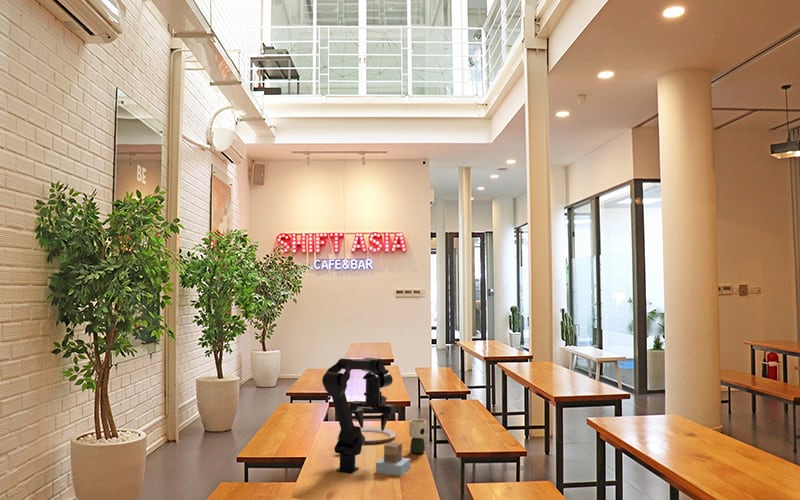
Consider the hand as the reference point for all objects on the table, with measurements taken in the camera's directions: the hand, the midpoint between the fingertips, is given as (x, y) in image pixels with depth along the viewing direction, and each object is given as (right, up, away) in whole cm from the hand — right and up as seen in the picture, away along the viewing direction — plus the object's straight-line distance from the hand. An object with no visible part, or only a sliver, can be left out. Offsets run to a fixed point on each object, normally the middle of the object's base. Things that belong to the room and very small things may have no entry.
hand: (372, 429), depth 246 cm
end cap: (-9, -13, +12) cm, 20 cm away
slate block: (+9, -12, -14) cm, 20 cm away
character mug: (+18, -13, +11) cm, 25 cm away
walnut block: (+8, -8, -13) cm, 17 cm away
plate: (-3, -14, +35) cm, 38 cm away
